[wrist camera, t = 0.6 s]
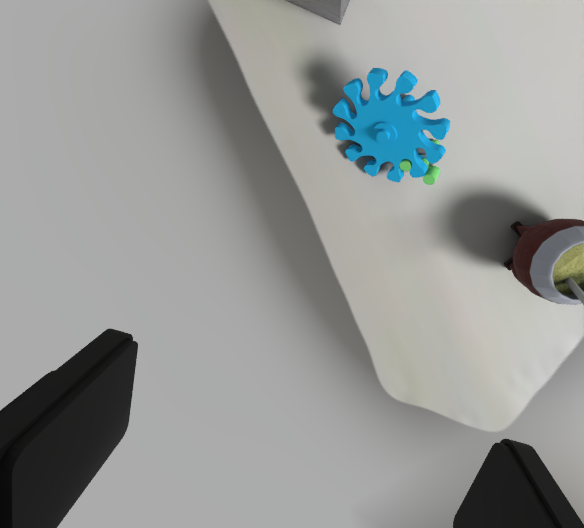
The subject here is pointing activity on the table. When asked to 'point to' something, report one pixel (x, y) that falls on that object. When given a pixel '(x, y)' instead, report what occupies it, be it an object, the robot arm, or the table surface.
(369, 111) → the blue toy cog wheel
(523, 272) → the mate gourd
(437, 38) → the table surface
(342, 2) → the tray
